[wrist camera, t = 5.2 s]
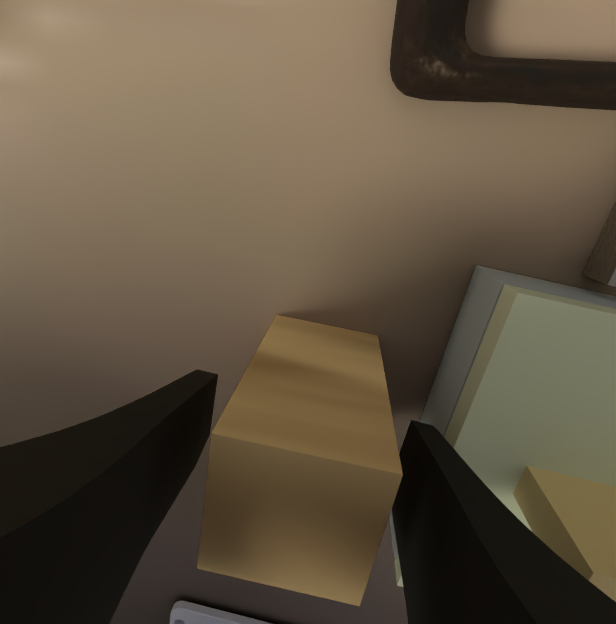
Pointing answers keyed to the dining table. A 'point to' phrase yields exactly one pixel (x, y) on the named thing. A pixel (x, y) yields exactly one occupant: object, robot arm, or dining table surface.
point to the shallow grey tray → (470, 336)
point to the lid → (547, 424)
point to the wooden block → (303, 464)
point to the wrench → (485, 65)
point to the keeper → (604, 255)
